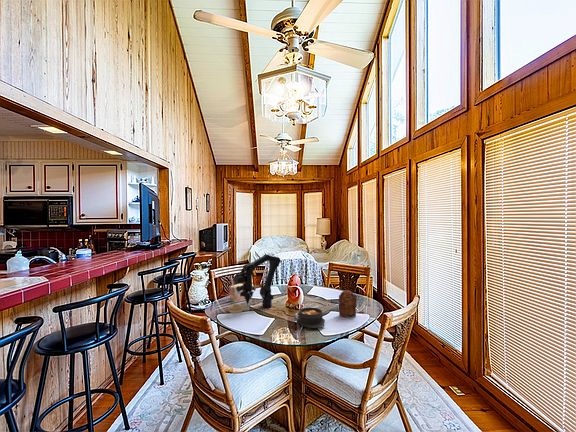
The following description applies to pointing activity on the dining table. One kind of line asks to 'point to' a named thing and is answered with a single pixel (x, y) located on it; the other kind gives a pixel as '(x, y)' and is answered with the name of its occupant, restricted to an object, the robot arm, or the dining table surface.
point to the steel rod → (248, 304)
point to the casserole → (311, 317)
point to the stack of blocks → (235, 293)
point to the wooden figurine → (347, 304)
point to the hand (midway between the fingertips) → (248, 302)
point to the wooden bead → (235, 308)
